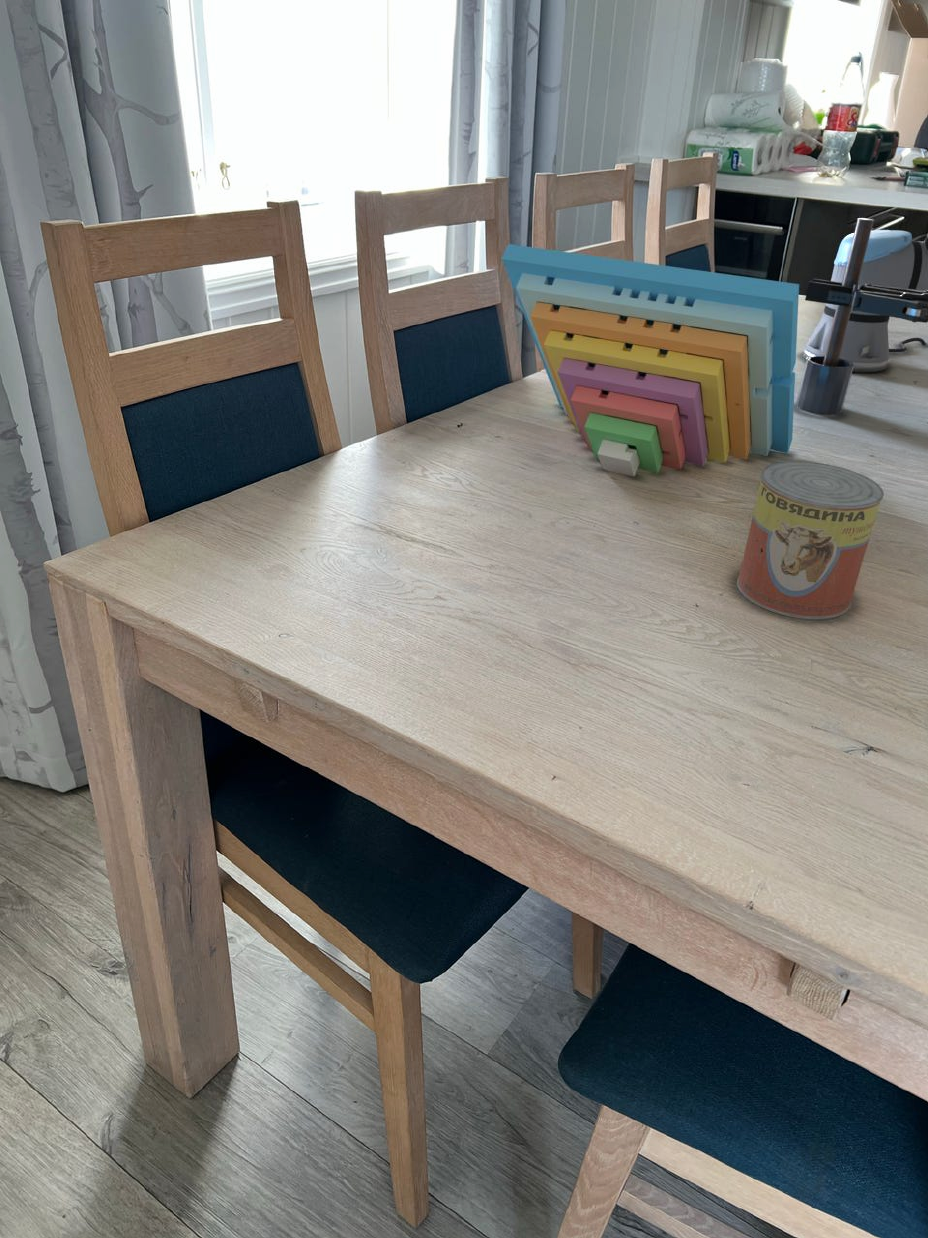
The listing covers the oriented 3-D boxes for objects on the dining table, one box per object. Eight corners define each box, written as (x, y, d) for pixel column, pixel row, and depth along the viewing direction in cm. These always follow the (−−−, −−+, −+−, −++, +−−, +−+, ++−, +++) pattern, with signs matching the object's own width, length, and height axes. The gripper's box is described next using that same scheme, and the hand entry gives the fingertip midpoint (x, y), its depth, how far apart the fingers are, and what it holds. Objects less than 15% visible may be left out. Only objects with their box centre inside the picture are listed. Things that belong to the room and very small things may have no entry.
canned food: (727, 602, 94) (752, 490, 88) (746, 558, 103) (770, 453, 97) (846, 630, 90) (880, 515, 84) (854, 582, 99) (886, 475, 93)
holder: (801, 401, 155) (812, 353, 151) (844, 410, 152) (857, 360, 148) (790, 412, 150) (802, 361, 146) (835, 421, 147) (848, 370, 143)
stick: (820, 379, 150) (859, 217, 138) (834, 382, 149) (875, 219, 137) (817, 382, 148) (856, 218, 136) (831, 385, 147) (872, 220, 136)
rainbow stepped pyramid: (524, 493, 143) (455, 366, 112) (564, 393, 147) (508, 243, 115) (754, 550, 130) (749, 424, 98) (792, 439, 133) (799, 284, 102)
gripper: (962, 349, 131) (792, 322, 141) (972, 330, 142) (815, 306, 152) (979, 293, 127) (803, 269, 137) (989, 278, 139) (826, 257, 148)
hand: (809, 289), depth 144 cm, fingers closed on stick, 2 cm apart
